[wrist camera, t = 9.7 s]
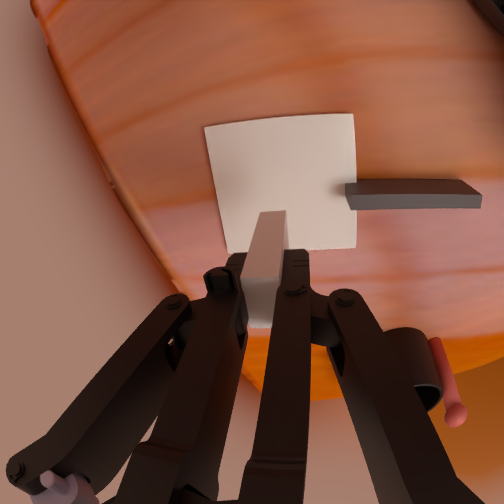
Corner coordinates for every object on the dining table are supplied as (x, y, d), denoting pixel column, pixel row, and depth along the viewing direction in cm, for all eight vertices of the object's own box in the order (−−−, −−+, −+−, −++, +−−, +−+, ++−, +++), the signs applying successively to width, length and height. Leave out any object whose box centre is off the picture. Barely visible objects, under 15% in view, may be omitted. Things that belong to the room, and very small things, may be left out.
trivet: (207, 126, 23) (204, 127, 22) (351, 112, 21) (353, 113, 20) (230, 248, 29) (228, 253, 28) (354, 242, 27) (355, 247, 26)
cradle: (343, 179, 24) (378, 261, 13) (483, 181, 21) (567, 248, 10) (337, 358, 35) (339, 448, 24) (439, 348, 32) (463, 428, 21)
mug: (362, 385, 38) (366, 437, 31) (358, 333, 33) (366, 395, 25) (420, 372, 36) (432, 422, 28) (429, 317, 30) (451, 375, 23)
